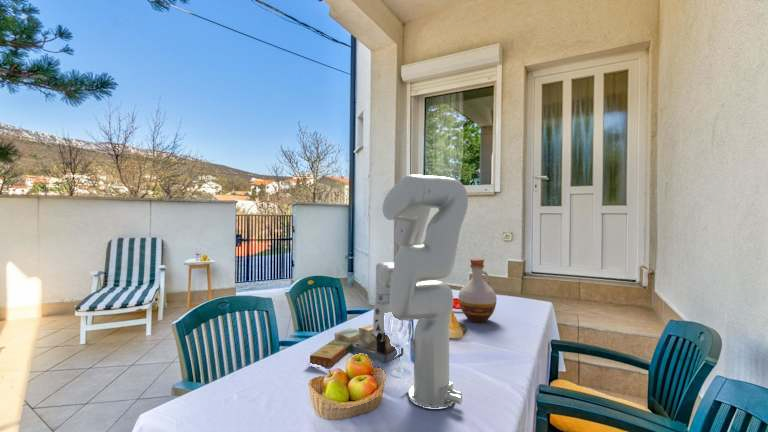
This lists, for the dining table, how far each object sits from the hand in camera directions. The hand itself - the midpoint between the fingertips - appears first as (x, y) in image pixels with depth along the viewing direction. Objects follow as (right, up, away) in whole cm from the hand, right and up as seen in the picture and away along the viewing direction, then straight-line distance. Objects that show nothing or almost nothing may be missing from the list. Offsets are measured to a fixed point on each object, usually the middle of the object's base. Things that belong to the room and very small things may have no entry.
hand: (386, 349), depth 115 cm
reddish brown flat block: (-19, -4, -1) cm, 19 cm away
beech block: (-6, -2, +5) cm, 9 cm away
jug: (+45, -4, +45) cm, 64 cm away
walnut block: (0, -2, 0) cm, 2 cm away
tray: (-3, -3, +3) cm, 5 cm away
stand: (-14, -3, +11) cm, 18 cm away
